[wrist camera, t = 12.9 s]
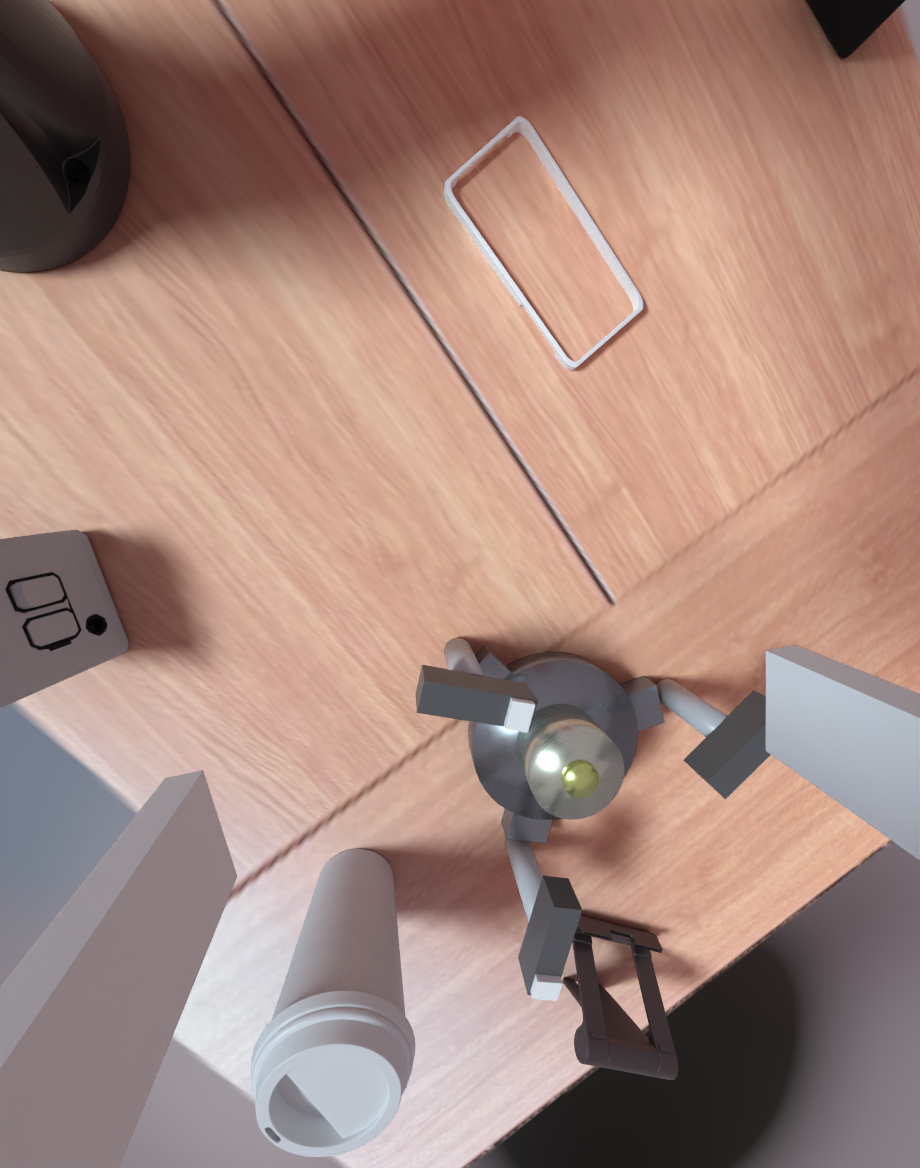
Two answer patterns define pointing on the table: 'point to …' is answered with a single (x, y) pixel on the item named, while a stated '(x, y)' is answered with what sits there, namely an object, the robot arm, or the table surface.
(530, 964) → the foot screw
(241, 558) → the table surface
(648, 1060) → the portable electronic device stand
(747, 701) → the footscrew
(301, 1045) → the coffee cup
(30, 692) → the electrical switch
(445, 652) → the foot screw
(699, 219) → the table surface
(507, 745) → the levelling base
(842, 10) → the battery
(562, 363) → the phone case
